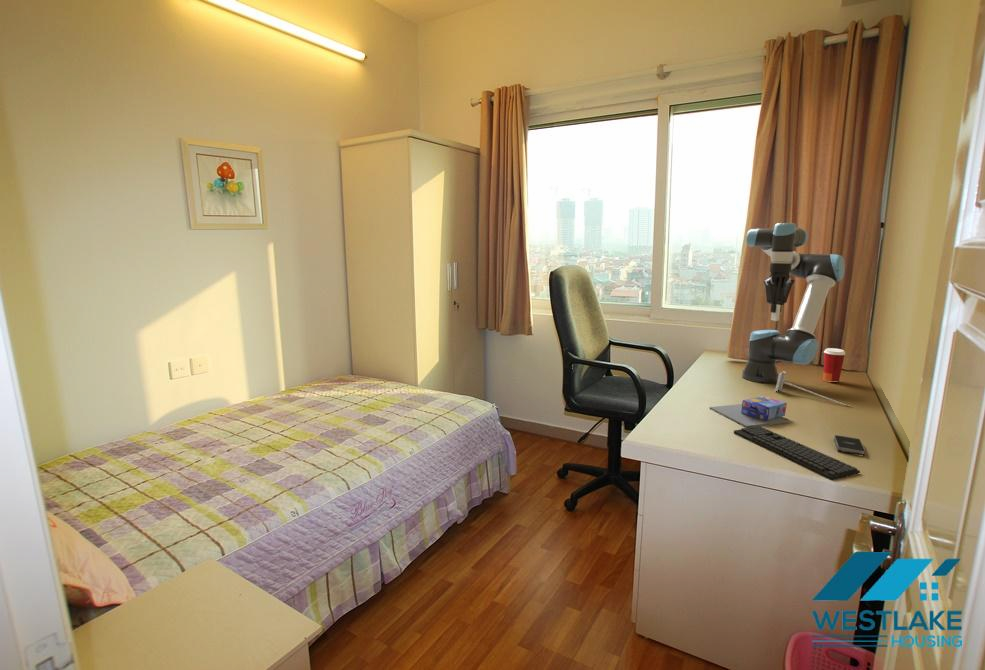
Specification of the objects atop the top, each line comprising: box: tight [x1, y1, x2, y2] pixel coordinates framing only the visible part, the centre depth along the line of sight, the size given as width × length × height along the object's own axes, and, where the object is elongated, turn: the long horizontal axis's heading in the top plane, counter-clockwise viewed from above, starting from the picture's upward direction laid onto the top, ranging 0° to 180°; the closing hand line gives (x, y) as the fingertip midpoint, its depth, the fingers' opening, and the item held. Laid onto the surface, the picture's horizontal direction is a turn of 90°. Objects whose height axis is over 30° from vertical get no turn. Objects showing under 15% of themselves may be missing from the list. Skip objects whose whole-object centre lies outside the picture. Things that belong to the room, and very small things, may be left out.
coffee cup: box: [822, 347, 846, 382], centre depth 225 cm, size 8×8×15 cm
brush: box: [774, 371, 850, 406], centre depth 201 cm, size 4×28×9 cm, turn 36°
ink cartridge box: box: [741, 395, 788, 421], centre depth 183 cm, size 10×6×14 cm
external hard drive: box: [833, 434, 866, 457], centre depth 157 cm, size 7×11×2 cm, turn 151°
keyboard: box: [733, 426, 861, 481], centre depth 154 cm, size 35×11×2 cm, turn 19°
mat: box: [709, 403, 790, 428], centre depth 185 cm, size 18×20×1 cm
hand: (774, 320), depth 201 cm, fingers closed
